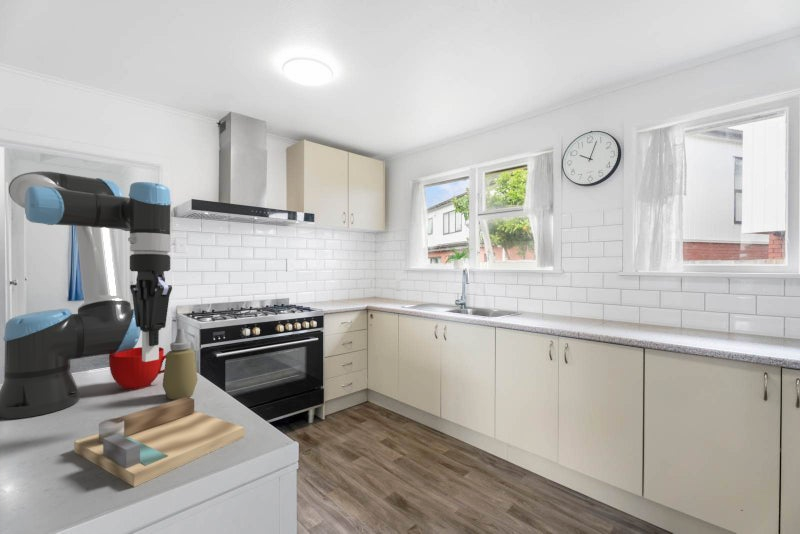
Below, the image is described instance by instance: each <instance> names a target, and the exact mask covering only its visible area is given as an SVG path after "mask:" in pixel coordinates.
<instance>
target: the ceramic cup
mask: <svg viewBox="0 0 800 534" xmlns="http://www.w3.org/2000/svg"><path fill="white" fill-rule="evenodd" d="M164 351H165V350H164V348H163V347H160V346H159V359H157V360H152V361H147V362H144V361H142V346H141V347H140V346H138V347H134V348H133V349H131V350H129V351H124V352H119V353H116V354H108V363H109V370H110V375H111V376H112V378H113V380H114V382H115V383H116V384H117V385H119V386H120V387H121V388H122V389H123V390H126V389H133V390H139V388H140V389H143V388H144V389H145V388H147V387H149V386H151V385H152V383H153V382H154V381H156V379H157V377H158V376H159V375H160V374H164V369H162V367H163V363H164V361H165V360H166V354H165V353H164Z"/></svg>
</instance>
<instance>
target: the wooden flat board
mask: <svg viewBox="0 0 800 534" xmlns="http://www.w3.org/2000/svg"><path fill="white" fill-rule="evenodd" d="M244 437H245V427H244V426H241V425H238V424H235V423H232V422H229V421H226V420H223V419H220V418H217V417H214V416H211V415H208V414H205V413H201V412H199V411H196V410H194V413H192V414H189V415H186V416H184V417H181V418H178V419H175V420H172V421H169V422H166V423H163V424H160V425H157V426H154V427H152V428H149V429H146V430H143V431H140V432H137V433H134V434H131V435H128V436H125V437H122V436H120V435H118V434H115V435H112V436H109V437H106V438H103V443H101V442H99V432H97V433H95V434H92V435H89V436H86V437H82V438H80V439H77V440H74V442H73V443H74V445H73V446H74V448H73V451H74V453H75V454H77V455H79V456H80V457H82V458H84V459H85V460H87V461H89V462H91V463H93V464H94V465H96V466H98V467H99V468H102V470H105V471H106V472H108V473H110V474H111V475H113V476H115V477H116V478H118V479H120V480H122V481H124V483H126V484H129V485H130V486H132V487H133V488H135V487H137V486H139V485H142V484H144V483H147V482H149V481H151V480H154V479H155V478H157V477H160V476H162V475H163V474H164V475H165V474H166V473H168V472H170V471H173V470H174V469H175V470H176V469H177V468H179V467H181V466H183V465H186V464H188V463H190V462H192V461H195V460H197V459H199V458H202V457H203V456H204V457H205V455H208V454H211V453H213V452H214V451H217V450H219V449H221V448H223V447H225V446H227V445H230V444H232V443H234V442H236V441H238V440H239V441H240V440H241V439H243V438H244Z"/></svg>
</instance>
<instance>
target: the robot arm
mask: <svg viewBox="0 0 800 534" xmlns="http://www.w3.org/2000/svg"><path fill="white" fill-rule="evenodd" d="M8 194H9V196H10V198H11V200H12V201H13V202H14V203H15V204H17V205H18V206H19V207H21V208H23V209H24V214H25V218H26V220H28V221H29V222H31V223H34V224H42V225H47V226H53V225H55V226H56V225H57V226H72V227H75V231H76V241H77V249H78V250H77V251H78V257H79V258H78V259H79V267H80V268H79V269H80V274H81V275H80V277H81V284H82V286H81V287H82V295H83V296H82V297H83V303H82V304H81V305H80V306H79V307H78V308H77V313H73V312H72V311H71V310H70V309H69V308H58V309H49V310H48V309H47V310H41V311H37V312H29V313H27V314H21V315H18V316H14V317H12V318H10V319H8V320H7V321H6V323H5V325H4V326H5V327H4V337H2V338H3V341H4V367H3V368H4V375H3V376H4V378H3V379H4V380H3V383H2V385H1V386H0V387H1V388H0V419H1V420H14V419H23V418H30V417H31V418H32V417H37V416H41V415H46V414H52V413H54V412H57V411H58V412H59V411H60V410H64V409H67V408H69V407H72V406H74V405H75V404H77V403H78V402H79V401H80V390H79V388H78V385H77V383H76V381H75V378H74V376H73V374H72V371H71V360H79V359H84V358H92V357H98V356H105V355H110V354H116V353H119V352H124V351H129V350H131V349H133V348H136V346H137V344H138V342H139V340H140V335H141V347H142V361H144V362H147V361H152V360H157V359H159V347H160V330H161V329H165V328H166V326H167V325H166V324H167V318H168V317H167V316H168V311H169V303H170V295H171V293H172V291H173V285H171V284H169V285H167V284H166V277H165V272H169V271H170V270H171V255H169V254H168V253H170V252H171V241H172V240H171V205H172V201H171V191H170V188H169V187H168V186H166V185H164V184H161V183H156V182H148V181H137V182H136V181H135V182H133V183H131V184H130V185H129V193H128V197H126V196H124V195H123V192H122V189H121V188H120V186H119V184H117V183H115V182H113V181H111V180H107V179H103V178H100V177H99V178H93V177H87V176H81V175H73V174H68V173H59V172H55V171H46V170H45V171H43V170H42V171H31V172H25V173H21V174H19V175H17V176H16V177H14V178H13V179H12V180H11V181H10V182H9V185H8ZM114 230H121V231H125V232H129V237H128V238H127V240H128V242H129V251H130V252H132V253H133V254H130V255H129V270H130V271H131V272H137V275H136V279H135V280H136V283H135V284H131V285H130V286H129V289H130V292H131V295H132V304H133V308H131V307H132V306H131V301H130V300H127V299H125V298H124V295H123V290H122V289H123V288H122V283H121V282H122V281H121V280H122V279H121V274H120V267H119V261H118V259H119V258H118V252H117V243H116V238H115V231H114Z"/></svg>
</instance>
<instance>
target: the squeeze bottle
mask: <svg viewBox="0 0 800 534" xmlns="http://www.w3.org/2000/svg"><path fill="white" fill-rule="evenodd" d="M191 344H192V343H191V341H188V340H187V339H186V334H185V329H184V328H178V329H177V333H176V337H175V340H174V342H171V343H170V345H169V346H170V350H169V351H168V352H167V353H166V354H165V355H166V358H165V360H164V361H165V362H164V369H163V370H164V373H163V376H162V377H163V378H162V388H163V389H164V392H165V395H166V398H167V399H168V400H178V399H181V398H185V397H188V398H191V397H192V396H193V395H194V392H195V389H196V386H197V382H198V371H197V363H196V355H195V354H196V353H195V351H194V349H192V348H191Z"/></svg>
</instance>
